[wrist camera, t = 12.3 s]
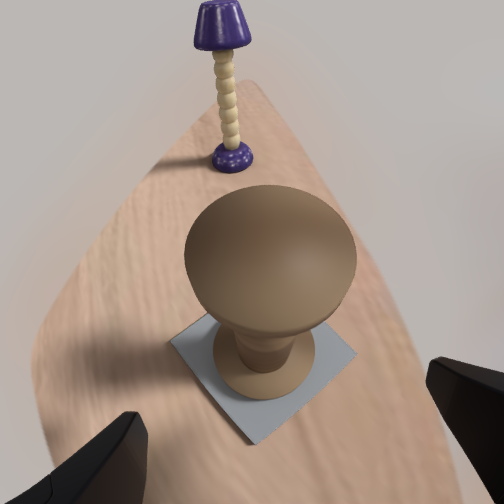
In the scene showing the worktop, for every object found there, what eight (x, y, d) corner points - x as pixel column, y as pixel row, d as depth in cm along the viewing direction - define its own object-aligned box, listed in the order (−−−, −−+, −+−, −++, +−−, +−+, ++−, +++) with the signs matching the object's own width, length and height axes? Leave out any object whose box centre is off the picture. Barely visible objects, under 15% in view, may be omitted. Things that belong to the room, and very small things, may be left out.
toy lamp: (199, 163, 30) (176, 6, 16) (226, 140, 32) (215, -4, 18) (237, 178, 29) (227, 5, 15) (263, 153, 31) (264, -2, 17)
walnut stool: (324, 384, 18) (408, 312, 8) (226, 409, 17) (179, 375, 7) (296, 299, 21) (327, 164, 11) (206, 319, 20) (160, 193, 10)
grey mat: (355, 355, 19) (357, 353, 19) (255, 444, 16) (255, 445, 16) (269, 270, 23) (269, 267, 22) (171, 342, 20) (170, 340, 19)
